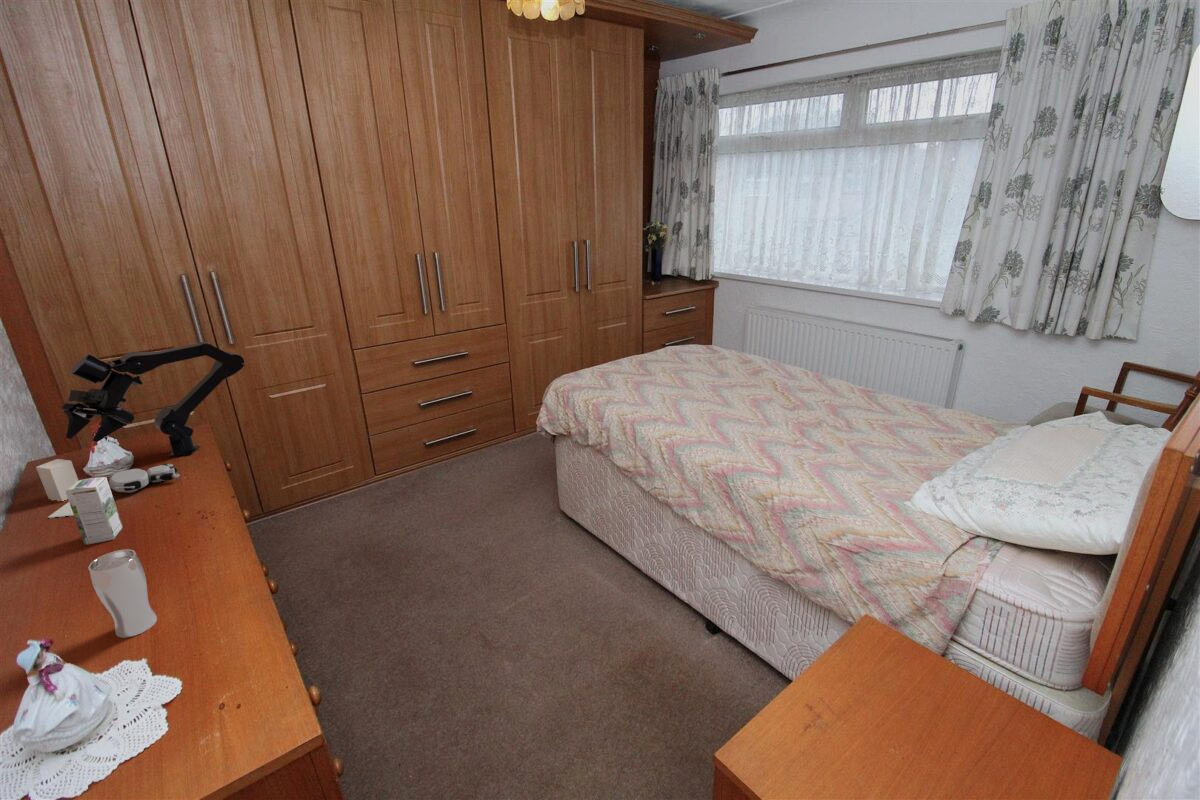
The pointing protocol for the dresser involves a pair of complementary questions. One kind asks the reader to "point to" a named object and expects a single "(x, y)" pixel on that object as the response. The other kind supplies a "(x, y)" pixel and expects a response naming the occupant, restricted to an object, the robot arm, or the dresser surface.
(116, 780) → the dresser surface
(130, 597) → the beer glass
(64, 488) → the cream block
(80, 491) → the syrup box
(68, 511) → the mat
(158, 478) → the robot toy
